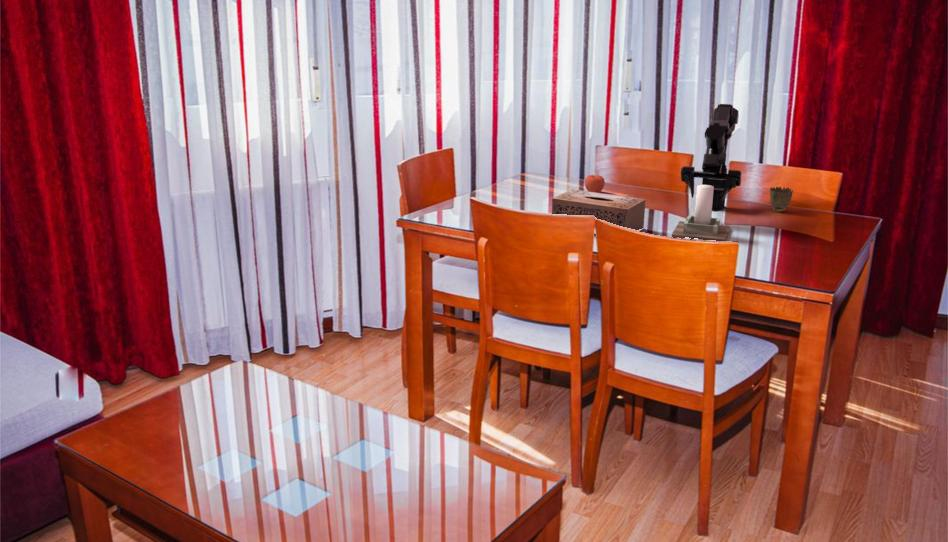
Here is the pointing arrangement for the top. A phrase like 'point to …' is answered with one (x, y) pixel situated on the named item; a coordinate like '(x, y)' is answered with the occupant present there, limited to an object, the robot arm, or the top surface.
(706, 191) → the cream post
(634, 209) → the tissue box cover
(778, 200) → the cup
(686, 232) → the collar seat
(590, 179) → the apple
